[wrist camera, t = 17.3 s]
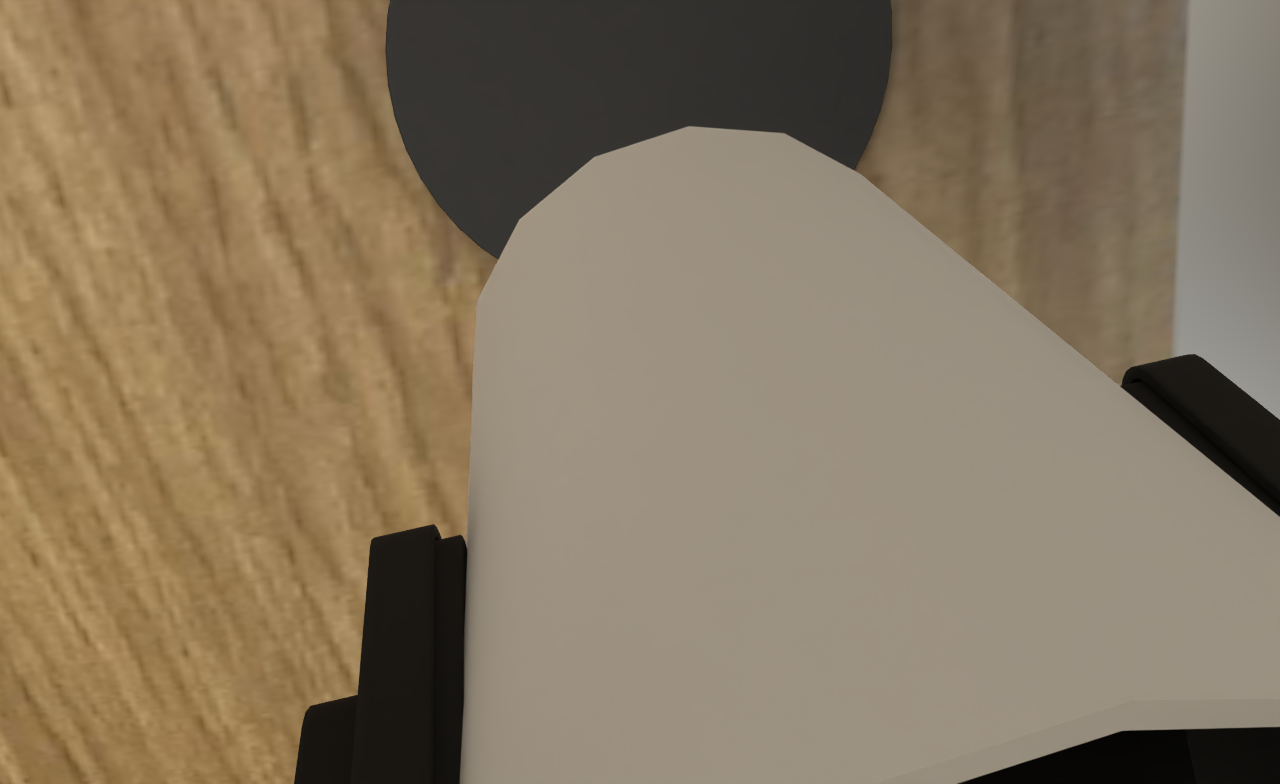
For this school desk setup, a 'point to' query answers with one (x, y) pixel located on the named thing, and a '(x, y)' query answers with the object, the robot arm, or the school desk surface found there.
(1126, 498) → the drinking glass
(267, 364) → the school desk surface
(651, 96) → the coaster
